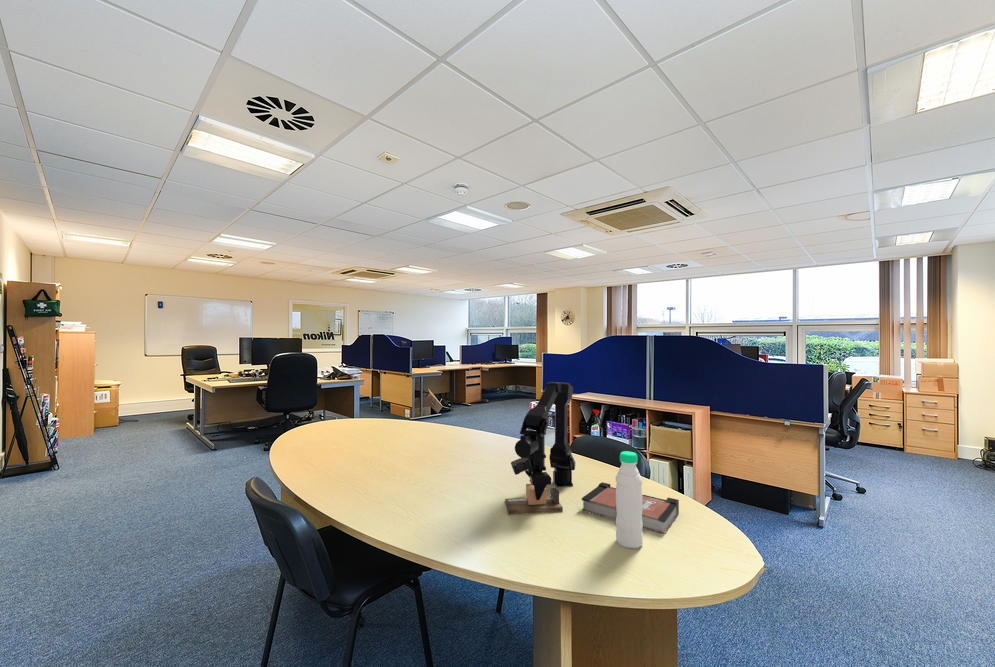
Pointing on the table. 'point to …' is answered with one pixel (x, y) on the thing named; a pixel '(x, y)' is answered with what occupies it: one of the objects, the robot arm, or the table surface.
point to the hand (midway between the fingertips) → (536, 496)
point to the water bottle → (629, 502)
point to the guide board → (532, 507)
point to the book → (654, 510)
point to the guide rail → (553, 499)
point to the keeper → (531, 495)
